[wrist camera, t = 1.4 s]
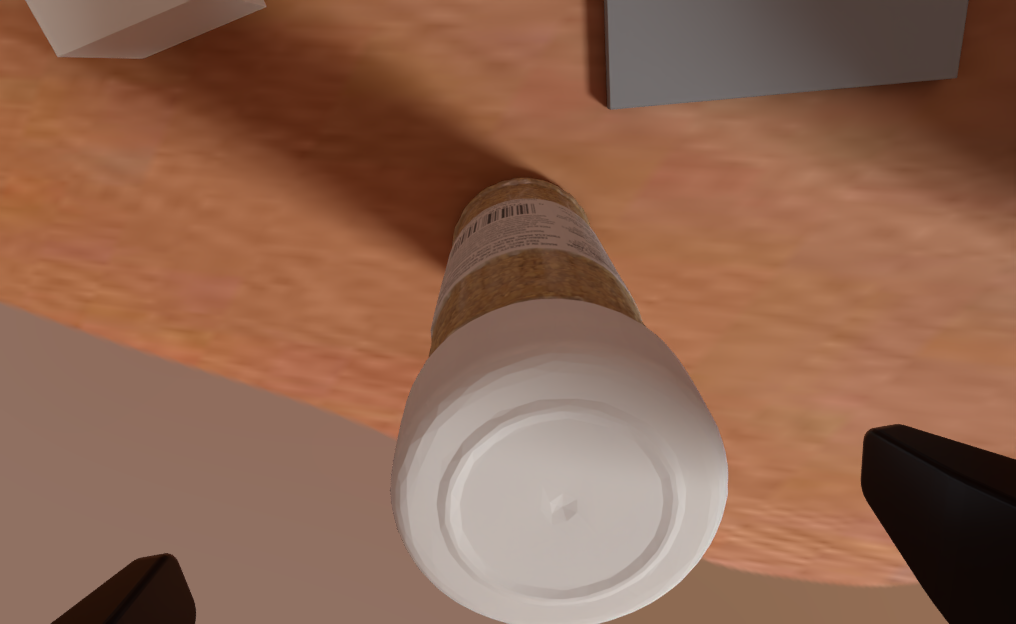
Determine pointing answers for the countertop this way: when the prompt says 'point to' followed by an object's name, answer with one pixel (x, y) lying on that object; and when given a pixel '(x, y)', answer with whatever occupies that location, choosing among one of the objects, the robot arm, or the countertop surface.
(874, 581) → the countertop surface
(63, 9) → the light grey block
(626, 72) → the grey mat
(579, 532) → the sprinkles bottle
